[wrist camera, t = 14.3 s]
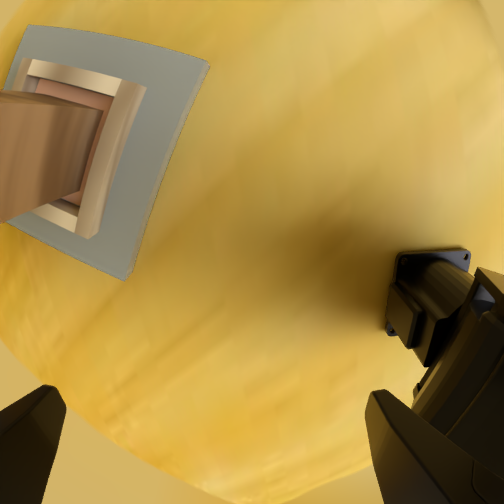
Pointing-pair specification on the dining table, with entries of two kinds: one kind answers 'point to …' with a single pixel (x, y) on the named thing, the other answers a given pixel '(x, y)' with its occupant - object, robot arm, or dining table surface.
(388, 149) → the dining table surface
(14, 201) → the walnut block
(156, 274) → the dining table surface
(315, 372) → the dining table surface
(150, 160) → the grey square framed tray
